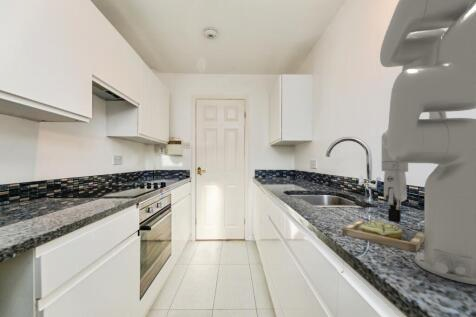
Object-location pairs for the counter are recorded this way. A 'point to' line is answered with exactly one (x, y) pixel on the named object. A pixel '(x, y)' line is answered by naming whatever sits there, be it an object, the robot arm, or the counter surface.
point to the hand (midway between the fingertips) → (394, 221)
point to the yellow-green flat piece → (382, 229)
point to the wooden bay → (383, 238)
